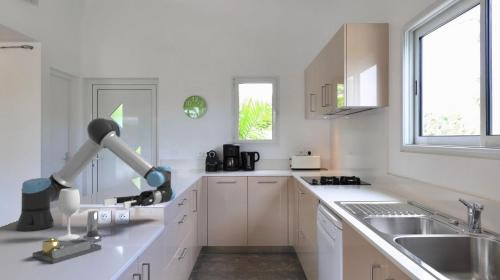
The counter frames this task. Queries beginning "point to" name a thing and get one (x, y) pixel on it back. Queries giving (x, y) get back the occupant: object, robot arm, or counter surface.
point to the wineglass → (68, 209)
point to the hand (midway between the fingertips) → (113, 204)
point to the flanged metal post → (93, 227)
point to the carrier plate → (49, 257)
